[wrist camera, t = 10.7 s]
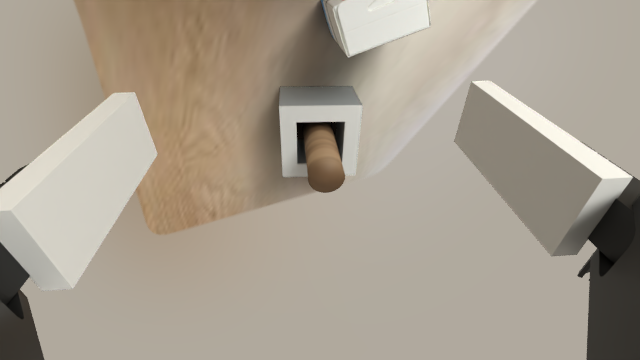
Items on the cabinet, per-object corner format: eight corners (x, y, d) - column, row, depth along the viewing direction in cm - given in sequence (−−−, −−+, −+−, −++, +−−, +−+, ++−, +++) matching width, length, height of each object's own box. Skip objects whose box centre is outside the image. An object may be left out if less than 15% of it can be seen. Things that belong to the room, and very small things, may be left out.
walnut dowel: (301, 107, 45) (308, 162, 33) (329, 107, 45) (346, 161, 33) (302, 133, 47) (308, 193, 35) (328, 132, 48) (343, 191, 35)
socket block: (279, 86, 43) (279, 106, 37) (352, 86, 44) (362, 105, 38) (283, 150, 49) (282, 177, 43) (347, 149, 50) (355, 175, 44)
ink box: (331, 38, 40) (345, 62, 30) (318, -6, 37) (330, 6, 28) (397, 13, 39) (433, 30, 30) (389, -33, 36) (427, -32, 27)
